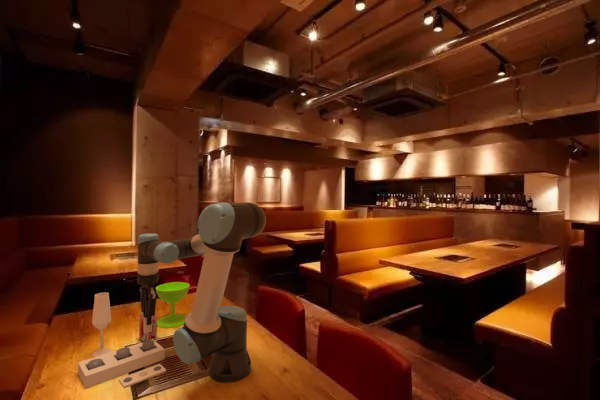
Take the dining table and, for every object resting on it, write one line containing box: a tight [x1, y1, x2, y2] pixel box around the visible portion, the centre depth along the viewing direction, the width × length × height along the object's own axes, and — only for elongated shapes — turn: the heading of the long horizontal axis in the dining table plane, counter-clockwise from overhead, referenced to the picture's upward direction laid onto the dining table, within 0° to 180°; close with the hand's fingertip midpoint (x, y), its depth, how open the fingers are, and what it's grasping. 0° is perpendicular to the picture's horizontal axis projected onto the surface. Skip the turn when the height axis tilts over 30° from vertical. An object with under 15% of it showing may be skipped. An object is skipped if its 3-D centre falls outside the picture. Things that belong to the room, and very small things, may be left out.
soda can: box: [138, 312, 158, 342], centre depth 140 cm, size 7×7×12 cm
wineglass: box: [155, 281, 190, 329], centre depth 159 cm, size 16×16×18 cm
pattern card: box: [118, 363, 167, 389], centre depth 111 cm, size 6×14×1 cm, turn 136°
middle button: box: [115, 346, 130, 361], centre depth 117 cm, size 4×4×4 cm
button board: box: [77, 339, 166, 389], centre depth 117 cm, size 12×26×4 cm, turn 136°
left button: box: [88, 359, 103, 370], centre depth 111 cm, size 4×4×4 cm
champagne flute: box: [91, 292, 112, 358], centre depth 127 cm, size 7×7×24 cm
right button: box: [141, 339, 155, 352], centre depth 124 cm, size 4×4×4 cm
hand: (147, 331), depth 124 cm, fingers closed
